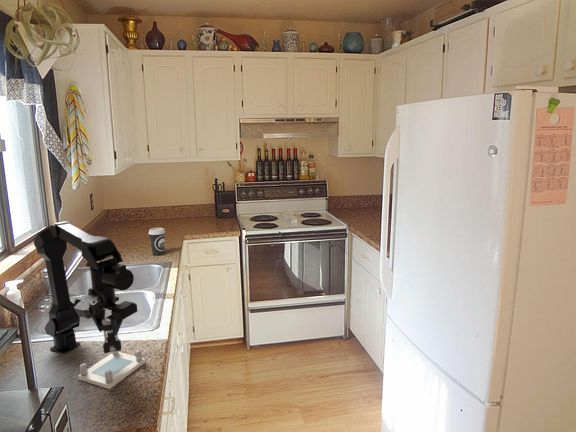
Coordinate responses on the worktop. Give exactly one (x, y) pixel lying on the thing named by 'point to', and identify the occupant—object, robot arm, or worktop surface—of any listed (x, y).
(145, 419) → the worktop surface
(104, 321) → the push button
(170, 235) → the worktop surface
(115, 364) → the board
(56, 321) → the robot arm
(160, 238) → the coffee cup
